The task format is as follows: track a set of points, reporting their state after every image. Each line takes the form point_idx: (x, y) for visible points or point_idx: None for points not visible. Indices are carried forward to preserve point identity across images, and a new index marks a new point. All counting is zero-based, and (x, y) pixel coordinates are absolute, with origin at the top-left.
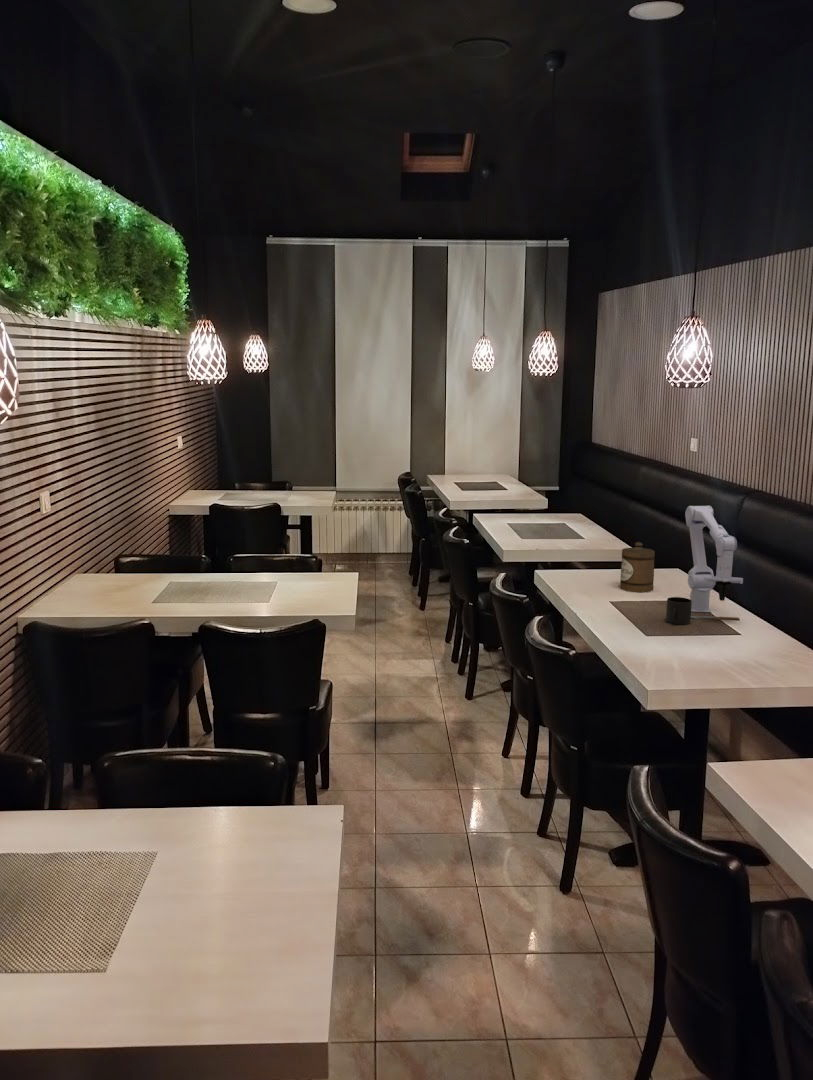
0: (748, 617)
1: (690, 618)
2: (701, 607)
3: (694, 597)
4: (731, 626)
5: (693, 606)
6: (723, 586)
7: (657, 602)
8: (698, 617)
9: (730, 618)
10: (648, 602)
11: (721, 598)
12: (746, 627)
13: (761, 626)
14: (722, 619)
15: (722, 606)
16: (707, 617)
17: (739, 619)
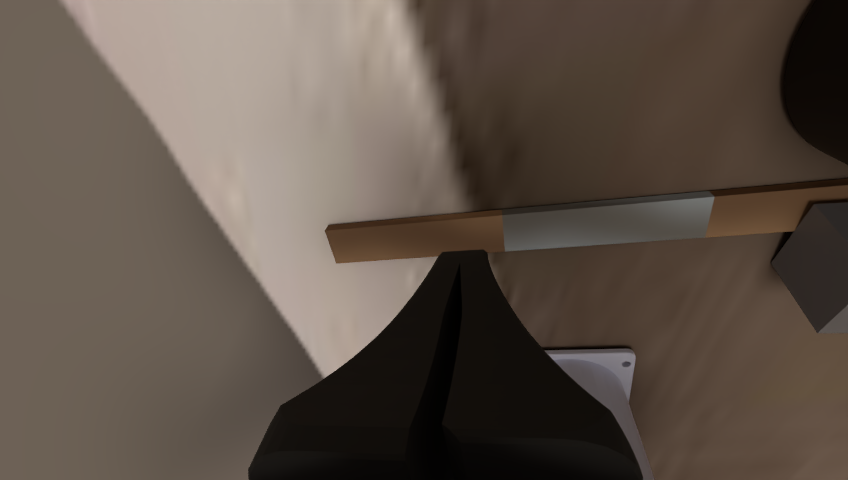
0: (283, 299)
1: (845, 11)
2: (572, 378)
3: (642, 457)
4: (387, 13)
5: (622, 393)
6: (458, 404)
7: (780, 477)
8: (646, 202)
9: (389, 227)
10: (845, 474)
11: (476, 261)
12: (259, 21)
13: (161, 98)
14: (447, 215)
15: None
16: (566, 215)
17: (328, 228)
